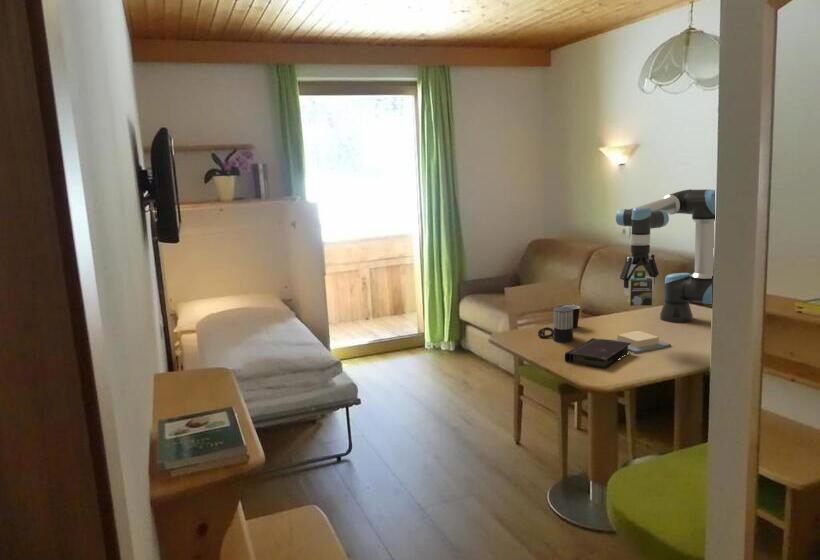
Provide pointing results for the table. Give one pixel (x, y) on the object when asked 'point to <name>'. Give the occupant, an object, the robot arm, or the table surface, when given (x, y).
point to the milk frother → (561, 325)
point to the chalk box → (640, 290)
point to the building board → (642, 349)
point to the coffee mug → (574, 314)
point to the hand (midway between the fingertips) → (639, 293)
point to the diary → (598, 353)
